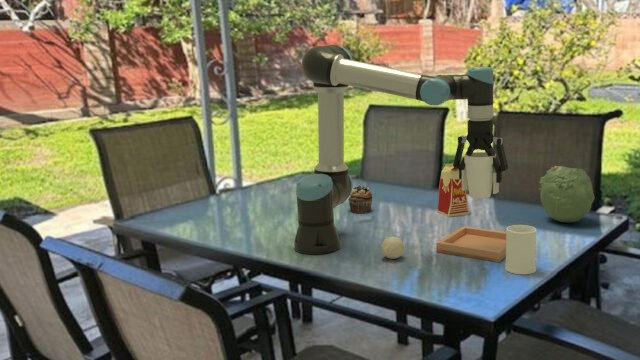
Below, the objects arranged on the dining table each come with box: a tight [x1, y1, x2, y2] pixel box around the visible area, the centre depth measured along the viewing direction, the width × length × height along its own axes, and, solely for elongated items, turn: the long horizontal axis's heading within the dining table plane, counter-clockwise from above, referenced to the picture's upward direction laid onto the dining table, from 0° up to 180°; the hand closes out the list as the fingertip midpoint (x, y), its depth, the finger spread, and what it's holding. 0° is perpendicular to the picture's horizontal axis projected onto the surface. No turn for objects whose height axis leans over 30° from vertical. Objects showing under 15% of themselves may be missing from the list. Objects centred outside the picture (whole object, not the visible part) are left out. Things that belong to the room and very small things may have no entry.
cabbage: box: [538, 165, 595, 224], centre depth 218 cm, size 16×19×20 cm
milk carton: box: [437, 162, 470, 218], centre depth 237 cm, size 9×9×20 cm
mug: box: [504, 224, 537, 275], centre depth 178 cm, size 12×8×12 cm
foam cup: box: [463, 151, 497, 199], centre depth 193 cm, size 10×9×13 cm
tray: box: [436, 226, 506, 263], centre depth 198 cm, size 20×20×3 cm
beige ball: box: [380, 236, 405, 260], centre depth 192 cm, size 7×7×7 cm
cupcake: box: [347, 185, 374, 214], centre depth 247 cm, size 10×10×10 cm
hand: (480, 191), depth 194 cm, fingers closed on foam cup, 9 cm apart
